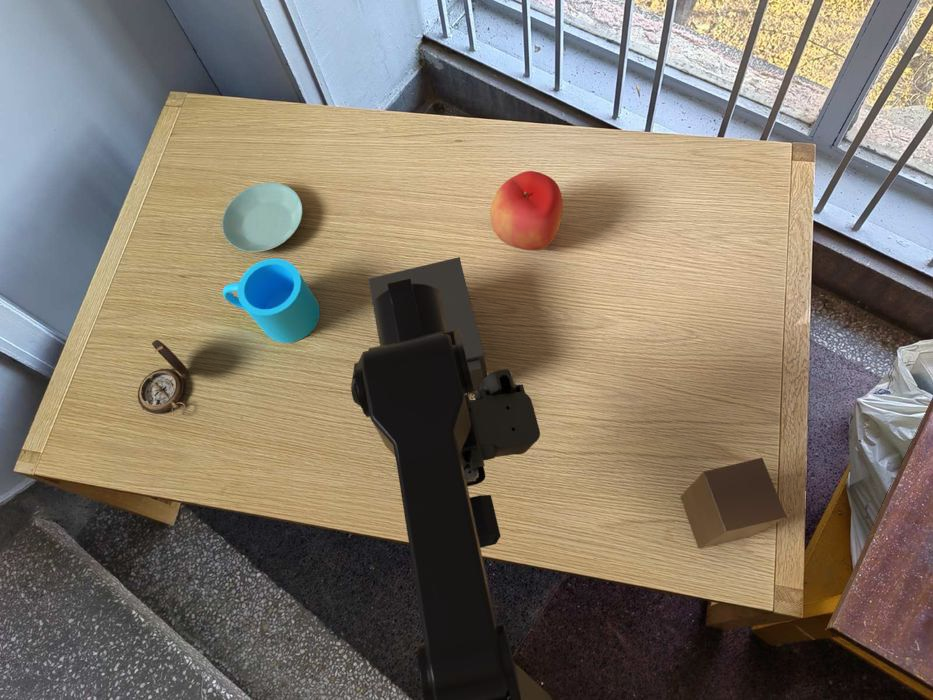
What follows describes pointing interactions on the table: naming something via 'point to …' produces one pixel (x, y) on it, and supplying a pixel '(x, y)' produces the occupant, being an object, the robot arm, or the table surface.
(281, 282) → the mug
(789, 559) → the table surface
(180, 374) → the compass
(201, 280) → the table surface
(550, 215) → the apple
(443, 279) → the drawer cabinet
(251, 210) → the saucer
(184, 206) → the table surface
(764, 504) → the stand
